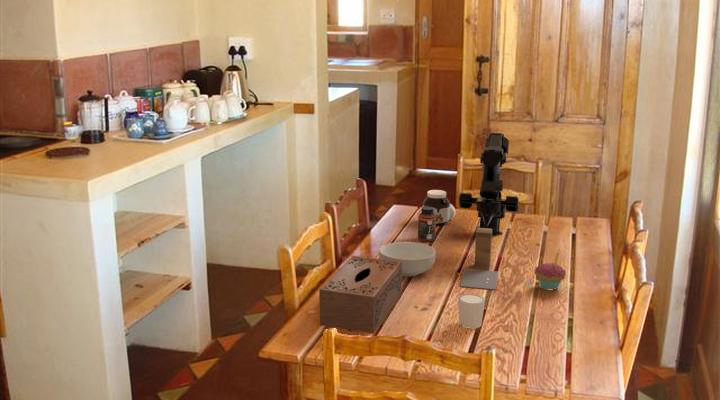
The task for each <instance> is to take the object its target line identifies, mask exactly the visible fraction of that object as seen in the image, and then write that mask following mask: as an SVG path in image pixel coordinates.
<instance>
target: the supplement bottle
mask: <svg viewBox="0 0 720 400" xmlns="http://www.w3.org/2000/svg"><path fill="white" fill-rule="evenodd" d="M417 217H418V219H417V221H418V222H417V239H418V240H419V241H421V242H428V243H429V242H433V241H435V240H436V227H437V226H436V215H435V214H434V213H433V207H429V206H425V207H421V212H420V213H419V214H418V216H417Z"/></svg>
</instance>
